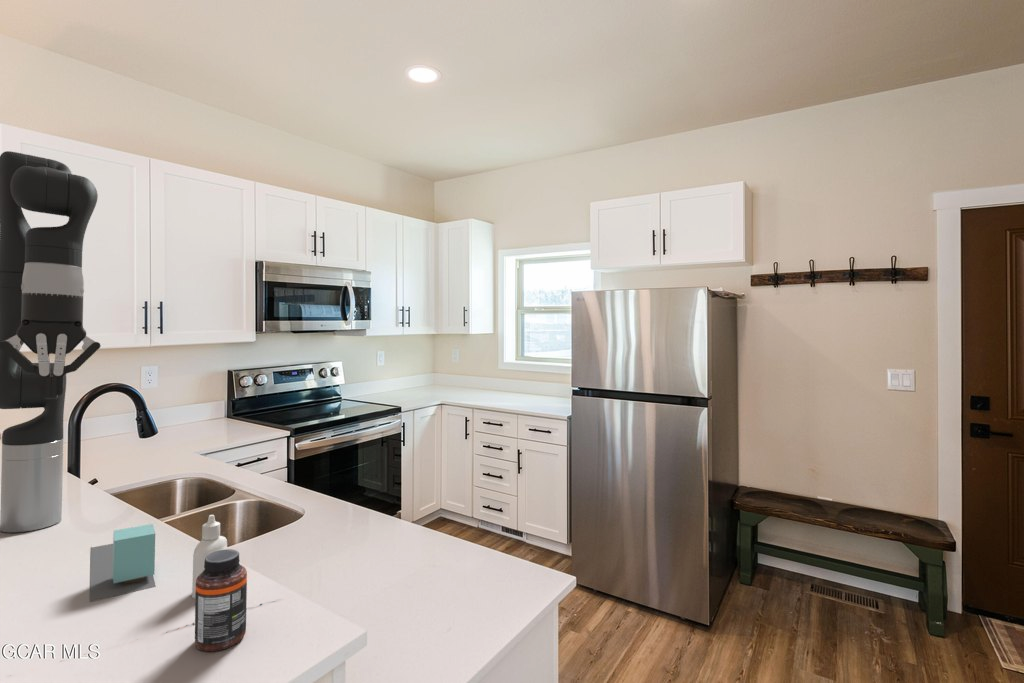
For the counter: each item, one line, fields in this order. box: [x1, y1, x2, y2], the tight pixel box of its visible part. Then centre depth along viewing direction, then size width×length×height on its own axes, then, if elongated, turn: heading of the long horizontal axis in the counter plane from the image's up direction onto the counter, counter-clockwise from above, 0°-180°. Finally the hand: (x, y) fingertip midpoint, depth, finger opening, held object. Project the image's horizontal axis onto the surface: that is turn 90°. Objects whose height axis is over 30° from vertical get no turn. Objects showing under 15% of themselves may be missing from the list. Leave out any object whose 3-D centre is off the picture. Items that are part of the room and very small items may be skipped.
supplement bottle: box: [194, 548, 248, 652], centre depth 67 cm, size 6×6×11 cm
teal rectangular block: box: [112, 523, 156, 584], centre depth 82 cm, size 5×5×7 cm
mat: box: [89, 543, 157, 603], centre depth 87 cm, size 24×8×1 cm, turn 39°
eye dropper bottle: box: [191, 514, 228, 599], centre depth 80 cm, size 4×6×12 cm
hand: (51, 398), depth 84 cm, fingers closed
